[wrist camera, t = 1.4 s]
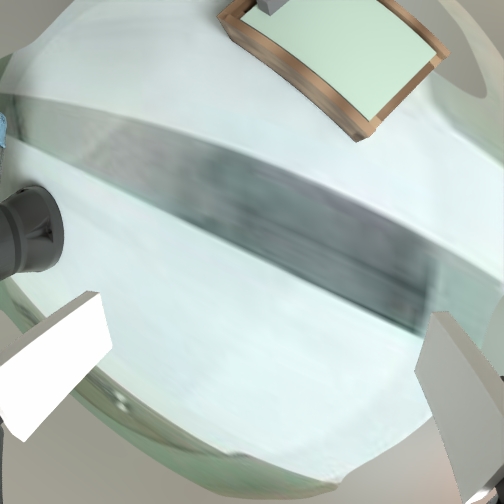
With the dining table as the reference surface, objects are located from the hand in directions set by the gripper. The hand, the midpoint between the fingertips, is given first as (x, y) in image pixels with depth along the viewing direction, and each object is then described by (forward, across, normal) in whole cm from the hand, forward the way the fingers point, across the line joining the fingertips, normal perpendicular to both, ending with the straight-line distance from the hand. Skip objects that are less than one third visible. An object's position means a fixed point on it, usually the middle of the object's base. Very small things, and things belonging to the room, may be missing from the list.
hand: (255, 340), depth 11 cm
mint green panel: (+20, +6, +21) cm, 30 cm away
